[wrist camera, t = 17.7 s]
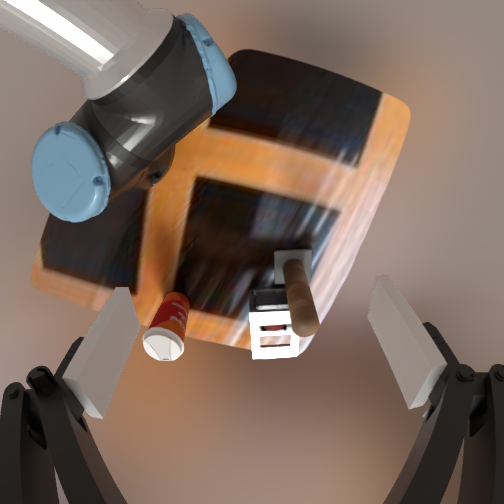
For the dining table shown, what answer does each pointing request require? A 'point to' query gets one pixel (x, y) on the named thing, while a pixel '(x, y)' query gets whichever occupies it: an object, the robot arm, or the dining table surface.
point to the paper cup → (168, 328)
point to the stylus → (300, 299)
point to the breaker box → (271, 322)
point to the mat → (285, 255)
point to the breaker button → (274, 327)
